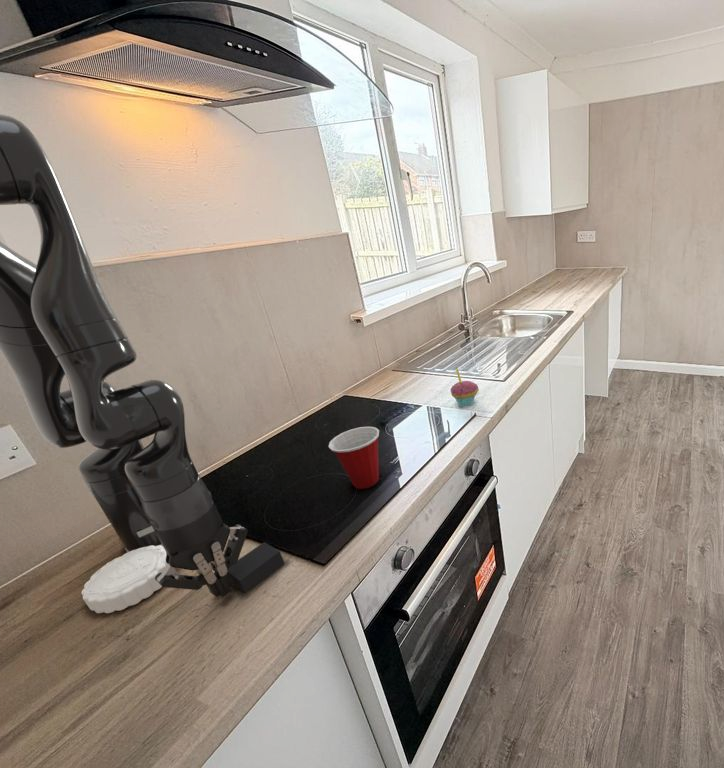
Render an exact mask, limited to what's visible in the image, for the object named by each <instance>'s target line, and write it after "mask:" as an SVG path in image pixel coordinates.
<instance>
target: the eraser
mask: <svg viewBox="0 0 724 768" xmlns="http://www.w3.org/2000/svg"><path fill="white" fill-rule="evenodd" d="M285 564H286V563H285V561H284V558H283V556H282V553H281V551H279V550H278V549H277V548H276V547H274V546H272V545H270V544H268V543H266V542H265V541H264V542H262V543H261V544H259V545H258V546H256V547H255V548H253V549H252V550H250V551H249V552H247V553H246V554H244V555H243V556H242V557H240V558H238V561H237V563H236V564H235V565H232V566H231V567H230V568H229V569H228V574H229V576H230V578H231V580H232V582H233V586H235V587H236V588H238V589H239V590H240V591H242V592H243V593H244V594H247V593H249V592H250V591H251V590H252V589H254V588H255V587H256V586H258V585H259V584H261V582H263V581H264V580H266V579H267V578H268V577H269V576H271V575H272V574H273V573H274V572H276V571H277V570H278V569H280V568H281V567H283V566H284V565H285Z"/></svg>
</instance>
